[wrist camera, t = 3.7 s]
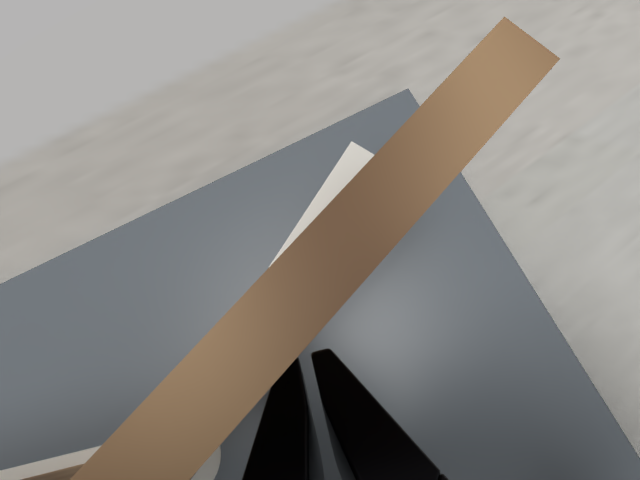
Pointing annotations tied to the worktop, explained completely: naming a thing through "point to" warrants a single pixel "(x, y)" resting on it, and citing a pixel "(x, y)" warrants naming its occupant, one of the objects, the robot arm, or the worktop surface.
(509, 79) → the fence panel
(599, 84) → the worktop surface
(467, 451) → the mat
